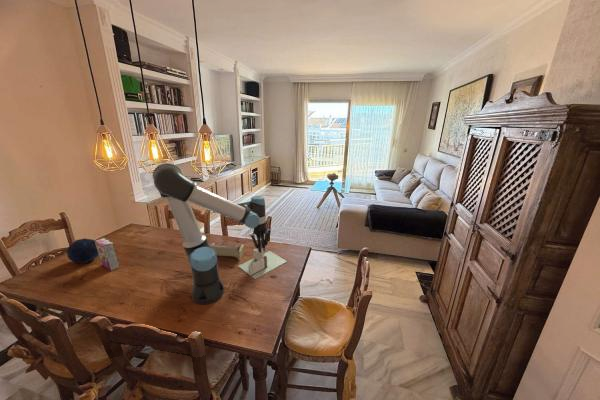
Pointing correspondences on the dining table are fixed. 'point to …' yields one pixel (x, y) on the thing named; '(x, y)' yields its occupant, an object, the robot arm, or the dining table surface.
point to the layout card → (272, 263)
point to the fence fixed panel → (258, 265)
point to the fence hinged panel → (258, 255)
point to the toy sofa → (228, 250)
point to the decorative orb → (82, 251)
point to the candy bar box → (107, 254)
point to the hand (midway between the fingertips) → (261, 256)
